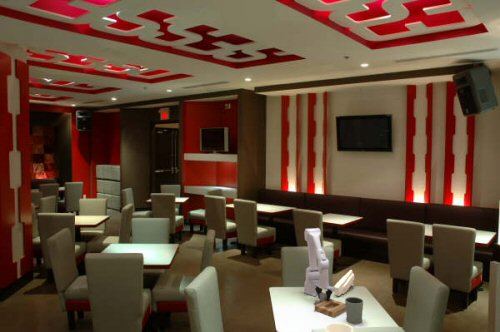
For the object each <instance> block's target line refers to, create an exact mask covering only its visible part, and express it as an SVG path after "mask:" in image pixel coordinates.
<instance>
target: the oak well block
mask: <svg viewBox="0 0 500 332" xmlns="http://www.w3.org/2000/svg"><path fill="white" fill-rule="evenodd" d="M314 311H315V312H316V313H317V312H318V313H321V314H323V315H325V316H328V317H332V318H337V317H338V316H340V315H342V314H343V313H346V304H345V303H344V302H342V301H339V300H335V299H332V298H330V300H329V301H327V300H326V301H324V302H321V303H319V304H317V305H315V304H314Z"/></svg>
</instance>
